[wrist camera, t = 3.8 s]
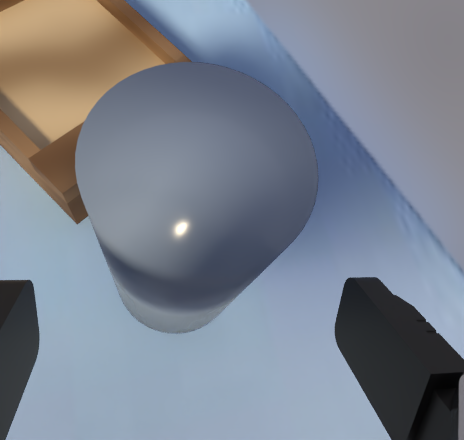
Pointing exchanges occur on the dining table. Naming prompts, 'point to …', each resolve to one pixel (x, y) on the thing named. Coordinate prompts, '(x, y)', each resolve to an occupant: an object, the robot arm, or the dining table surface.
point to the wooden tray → (66, 79)
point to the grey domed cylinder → (192, 187)
